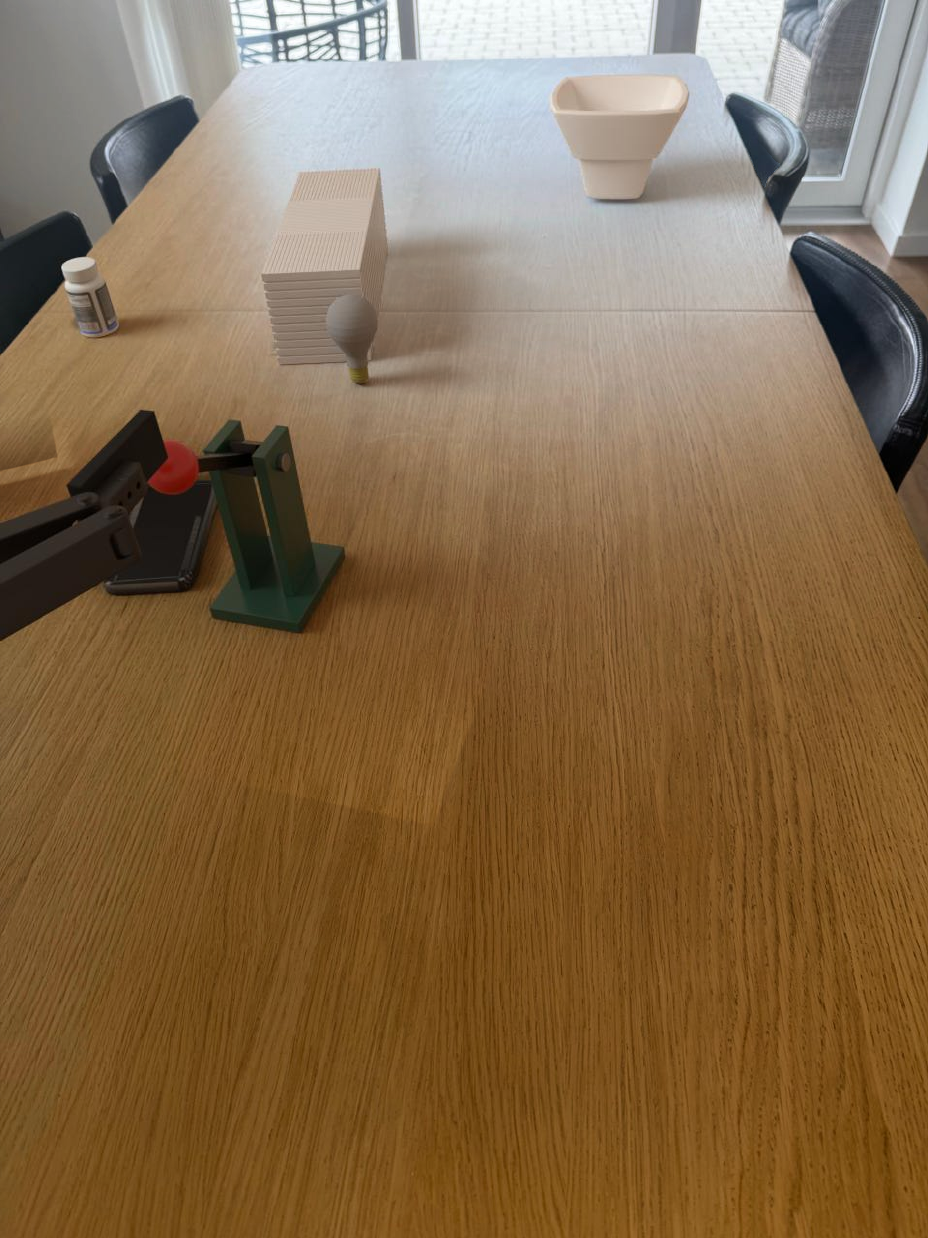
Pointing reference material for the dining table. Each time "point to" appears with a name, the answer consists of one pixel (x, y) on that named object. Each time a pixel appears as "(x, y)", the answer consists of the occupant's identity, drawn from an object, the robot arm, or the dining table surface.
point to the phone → (167, 540)
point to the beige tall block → (324, 259)
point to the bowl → (617, 127)
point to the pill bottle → (89, 297)
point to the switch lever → (200, 465)
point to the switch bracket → (269, 538)
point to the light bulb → (353, 332)
